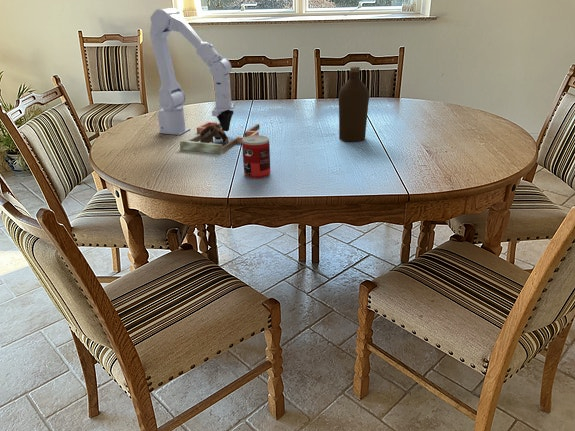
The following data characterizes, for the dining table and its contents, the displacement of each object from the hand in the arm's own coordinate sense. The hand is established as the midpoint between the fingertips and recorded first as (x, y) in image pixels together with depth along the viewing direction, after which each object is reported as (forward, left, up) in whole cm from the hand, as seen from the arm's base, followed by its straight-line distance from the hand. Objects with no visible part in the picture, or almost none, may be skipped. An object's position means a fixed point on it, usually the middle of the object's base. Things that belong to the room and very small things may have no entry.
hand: (225, 130), depth 181 cm
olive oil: (+46, +10, -2) cm, 47 cm away
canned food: (+27, -33, -2) cm, 43 cm away
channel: (0, -3, -2) cm, 3 cm away
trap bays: (0, +1, -2) cm, 2 cm away
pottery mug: (+1, -11, -2) cm, 11 cm away
